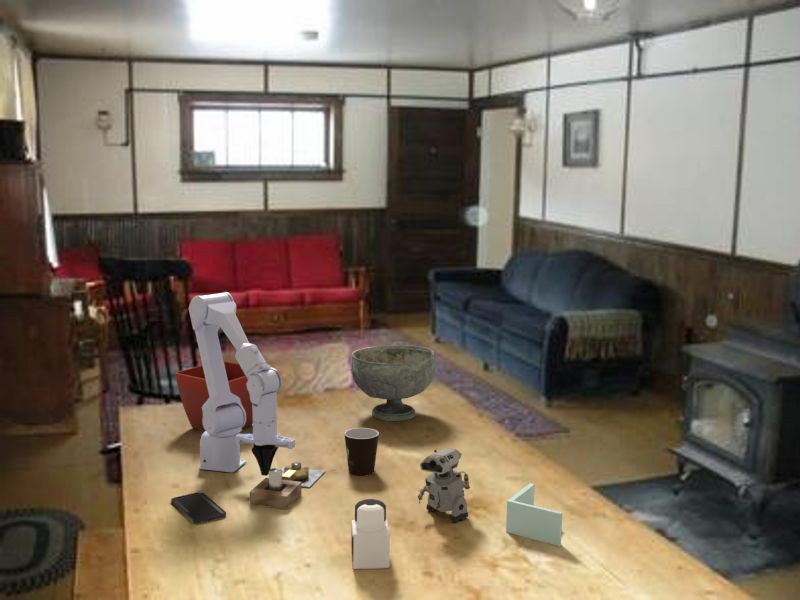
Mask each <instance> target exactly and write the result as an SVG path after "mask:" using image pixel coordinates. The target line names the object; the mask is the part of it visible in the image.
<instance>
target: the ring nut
mask: <svg viewBox="0 0 800 600" xmlns="http://www.w3.org/2000/svg"><path fill="white" fill-rule="evenodd" d="M309 469H310V468H309V467H308V465H306V464H302V463H301V462H298V461H295V462H291V464H289V465H286V466H285V468H284V474H283V475H282V480H289V481H295V480H299V479H304V478H306V477H308V476H309Z"/></svg>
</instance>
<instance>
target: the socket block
mask: <svg viewBox="0 0 800 600" xmlns="http://www.w3.org/2000/svg"><path fill="white" fill-rule="evenodd" d="M301 495H302V487H301V482H297V481H289V480H282V491H273V490H269V477H265V478H264V479H263V480H261V481H260V482H259V483H258V484H256V485H255V487H253V488H252V489H251V490H250V491H249V505H251V506H256V507H257V506H258V507H259V506H260V507H265V508H266V507H268V508H275V509H283V510H288V509H289V507H291V506H292V505H293V504H294V502H295V501H296V500H297V499H298V498H299V497H301Z"/></svg>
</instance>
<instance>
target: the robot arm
mask: <svg viewBox="0 0 800 600" xmlns="http://www.w3.org/2000/svg"><path fill="white" fill-rule="evenodd" d="M188 311H189V317H190V321H191V326H192V329H193V330H194V333H195V337H196V340H197V346H198V351H199V355H200V360H201V365H203V370H204V374H205V379H206V383H207V388H208V392H209V399H208V400H207V401H206V402H205V404H204V405H203V406H202V411H203V419H202V422H203V427H204V429H205V430H206V431H203V433H202V434H201V436H200V440H199V458H200V459H199V460H200V461H199V464H200V466H199V467H198V469H199V470H205V471H206V470H207V471H215V472H224V473H225V472H226V473H234V472H236V471H238V469H239V468H241V467H242V466H243V465H245V463H247V460H245V459H241V455H240V452H241V451H240V450H241V449H240V448H241V447H240V444H247V445H253V446H252V448H251V453H252V454H253V456H254V458H255V459H256V462H257V464H258V467H259V469H260V474H261V476H265V477H266V476H269V470H270V469H272V464H273V460H274V457H275V455H276V453H277V451H278V449H279V448H286V449H288V450H293V449H294V448H295V447H296V439H295V438H289V437H285V436H281V435H278V419H277V418H278V415H277V414H278V412H277V411H278V409H277V408H278V407H277V393H278V392H279V391H280V390H281V389H282V377H281V375H280V372H279V371H278V370H277V369H276V368H274V367H272V365H270V364H268V363H267V362H266V360H265V358H264V357H263V354H262V352H261V351H260V350H259V348H258V346H257V345H256V344H254V343H250V341H249V340H248V338H247V336H246V334H245V332H244V330H243V328H242V325H241V323H240V321H239V319H238V317H237V315H236V313H237V304H236V302H235V300H234V298H233V296H232V295H231V293H230V292H227V291H223V292H220V293H213V294H205V295H195V296H193V297H192V298H191V301H190V303H189V306H188ZM220 329H221V330H222V332H223V333H224V334H225V336H226V338H228V339H229V341H230V343H231V344H232V345H233V347H234V349H235V350H236V352H235V355H234V358H235V359H236V361H237V364H239V365H240V366H241V368H242V370H243V372H244V373H245V375H246V377H247V379H248V383H246V385H247V389H248V392H249V394H250V400H251V402H252V412H253V424H252V433H240V432H242V431H243V429H242V427H243V426H244V425H245V423H246V412H245V410H244V408H243V407H242V404H241V401H240V398H239V397H237V396H236V395H234V394H232V393H231V392H230V388H229V383H228V379H227V374H226V370H225V365H224V361H225V360H224V358H223V351H222V348H221V343H220V339H219V333H218V331H219V330H220ZM225 404H226V405H228V406H225V407H221V408H217V407H218V406H221V405H225ZM216 408H217V409H216Z"/></svg>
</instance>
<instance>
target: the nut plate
mask: <svg viewBox="0 0 800 600" xmlns="http://www.w3.org/2000/svg"><path fill="white" fill-rule="evenodd" d="M285 467H286V466H285V465H284V466H283V467H282V468H281V469H282V475H283V474H284V468H285ZM323 473H324V474H325V473H326V470H320V469H311V468H309V476H308V477H306V478H304V479H299V480H295V481H297V482H301V488H303V489H304V488H305V489H310V488H311V487H312V486H313V485H314V484H315V483H317V481H318V480H319V479H320V478H321V477H322V476H323V475H324V474H323ZM319 477H320V478H319Z"/></svg>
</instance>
